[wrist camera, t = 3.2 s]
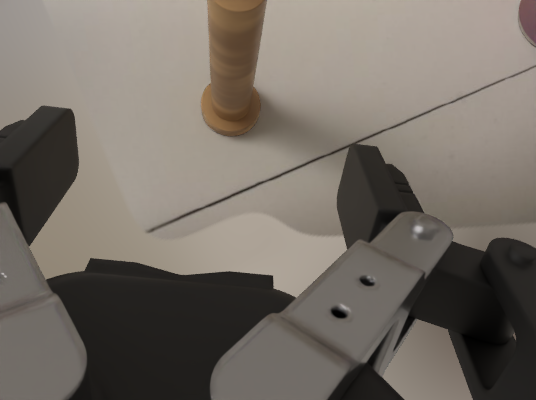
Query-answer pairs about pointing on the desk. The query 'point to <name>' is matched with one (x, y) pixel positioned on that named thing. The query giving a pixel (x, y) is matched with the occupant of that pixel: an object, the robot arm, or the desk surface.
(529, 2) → the beverage can
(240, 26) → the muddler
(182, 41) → the desk surface
